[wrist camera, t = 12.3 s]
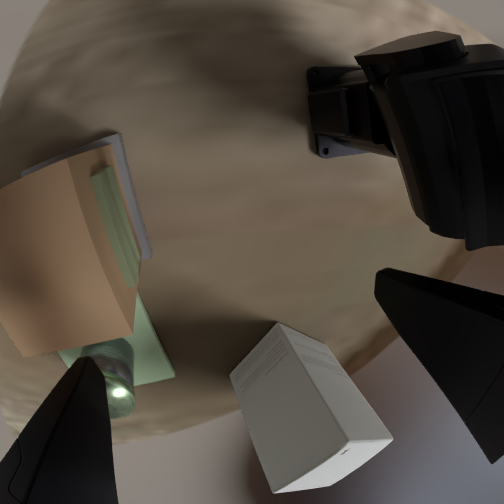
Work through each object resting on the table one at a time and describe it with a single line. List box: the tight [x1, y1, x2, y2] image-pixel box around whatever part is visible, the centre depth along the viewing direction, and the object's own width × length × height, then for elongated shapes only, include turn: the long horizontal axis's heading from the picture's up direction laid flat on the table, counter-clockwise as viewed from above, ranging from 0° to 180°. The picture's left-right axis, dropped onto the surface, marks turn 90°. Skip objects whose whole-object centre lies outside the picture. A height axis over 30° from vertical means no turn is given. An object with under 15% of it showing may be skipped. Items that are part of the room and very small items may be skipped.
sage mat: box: [57, 291, 176, 386], centre depth 20 cm, size 9×9×1 cm
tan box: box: [0, 133, 152, 357], centre depth 12 cm, size 7×8×9 cm
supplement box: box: [230, 323, 393, 493], centre depth 21 cm, size 7×7×13 cm
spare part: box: [80, 337, 135, 419], centre depth 18 cm, size 5×5×5 cm
